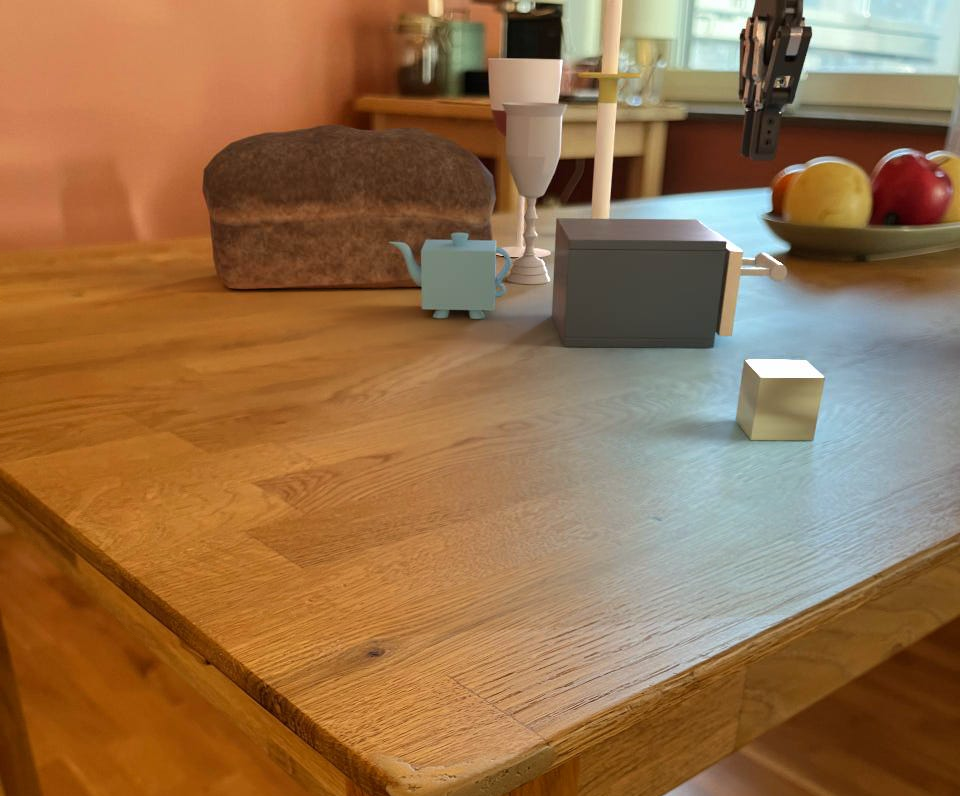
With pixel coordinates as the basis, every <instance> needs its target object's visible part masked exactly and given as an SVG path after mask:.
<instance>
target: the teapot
mask: <svg viewBox="0 0 960 796" xmlns="http://www.w3.org/2000/svg"><path fill="white" fill-rule="evenodd" d="M451 238H452V240H426V241H425V243H424V245H423V248H422V250H421V267H420V266H419V265H418V264H417V263H416V261H415V259H414V257H413V254H412V251H411V249H410V248H409V246H408V245H407V244H405V243H403V242H389V243H390V244H392V245H394V246H396V247H397V248H398V249H399V250H400V251H401V253H402V254H403V257H404V259H405V262H406V266H407V269H408V272H409V275H410V277H411V278H412V280H413V281H414V282H415V283H416V284H417V285H418V286H420V287H421V310H435V311H434V313H433V315H432V318H434V319H447V318H448V317H449V314H450V311H451V310H452V311H454V310H455V311H468V316H469V319H472V320H483V319H485V317H486V316H485V314H484V311H496V309H495V308H496V298H501V297H503V296H504V295H505V293H506V286H505V284H504V283H501V282H502V280H503V279H504V278H505V276H506V275H507V273H508V272H509V271H510V268H511V266H512V258H510V255H509V254H508V252H507V251H506V250H504V249H503V248H504V247H500V246H497V240H493V241H487V240H467V239H468V234H467V233H452V234H451ZM496 253H500V254H502V255H503V256H504V257H503V258H505V262H504V263H505V264H504V266H503V268H502V270H501V271H500V273H499V274H498V275H497V256H496ZM497 287H499V288H500V290H499V291H497Z"/></svg>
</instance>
